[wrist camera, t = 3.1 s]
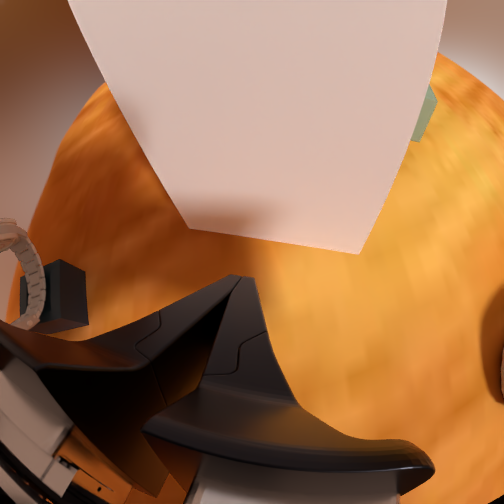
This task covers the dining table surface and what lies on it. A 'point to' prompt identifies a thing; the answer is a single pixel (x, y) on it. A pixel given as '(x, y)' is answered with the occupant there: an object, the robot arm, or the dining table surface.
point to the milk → (270, 105)
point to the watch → (45, 286)
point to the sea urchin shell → (502, 373)
